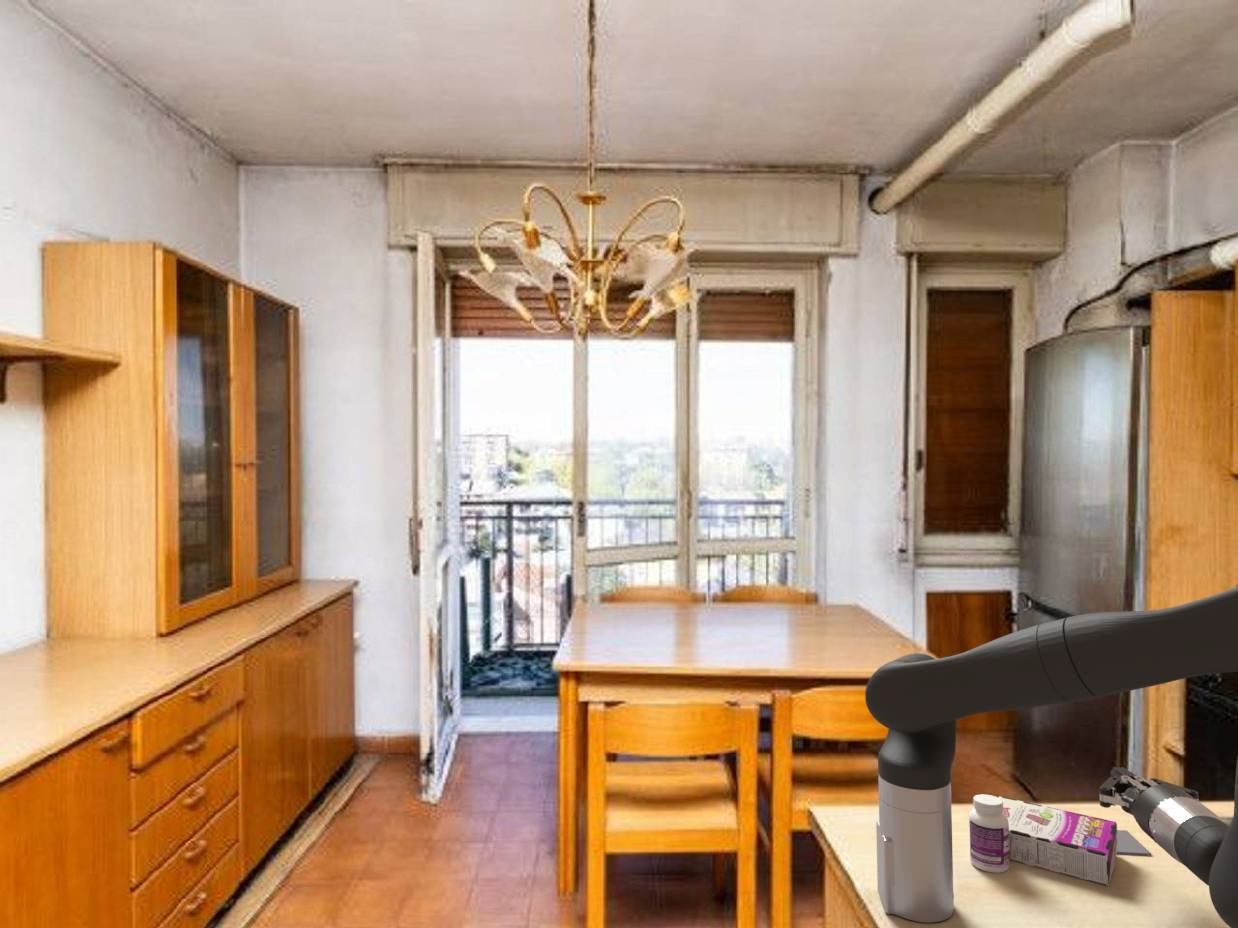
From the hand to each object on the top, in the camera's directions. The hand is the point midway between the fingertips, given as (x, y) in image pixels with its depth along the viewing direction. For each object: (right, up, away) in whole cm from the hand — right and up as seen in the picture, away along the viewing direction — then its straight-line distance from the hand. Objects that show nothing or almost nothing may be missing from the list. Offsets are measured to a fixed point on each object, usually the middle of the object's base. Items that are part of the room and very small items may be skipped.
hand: (1117, 773), depth 115 cm
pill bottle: (-19, -14, 0) cm, 23 cm away
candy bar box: (-2, -11, -3) cm, 11 cm away
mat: (+1, -13, +6) cm, 14 cm away
